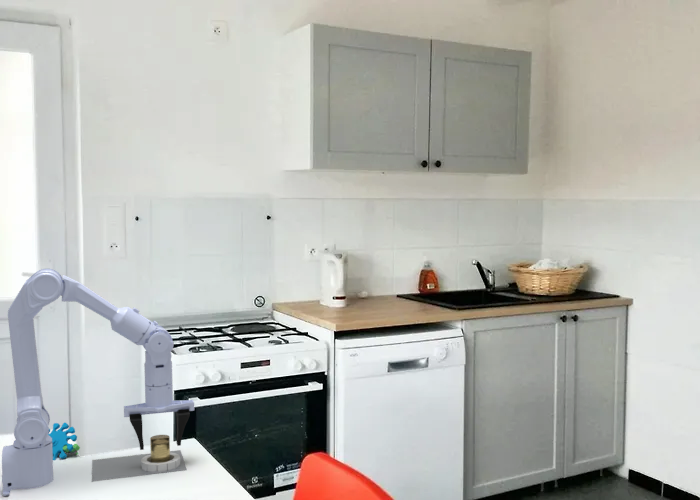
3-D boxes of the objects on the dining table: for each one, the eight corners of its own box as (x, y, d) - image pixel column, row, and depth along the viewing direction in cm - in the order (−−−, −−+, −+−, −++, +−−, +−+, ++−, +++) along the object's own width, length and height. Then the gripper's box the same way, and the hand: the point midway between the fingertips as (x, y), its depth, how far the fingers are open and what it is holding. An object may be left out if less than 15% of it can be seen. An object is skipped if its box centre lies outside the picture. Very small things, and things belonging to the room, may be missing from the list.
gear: (22, 455, 164) (47, 416, 170) (34, 467, 169) (59, 429, 175) (61, 467, 161) (86, 427, 167) (73, 479, 165) (97, 439, 171)
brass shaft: (152, 469, 156) (151, 441, 156) (150, 463, 160) (149, 436, 160) (171, 466, 158) (170, 438, 157) (168, 460, 161) (168, 433, 161)
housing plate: (91, 486, 149) (91, 474, 149) (92, 464, 163) (92, 453, 163) (187, 474, 156) (186, 462, 155) (180, 454, 169) (180, 443, 169)
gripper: (123, 390, 152) (125, 455, 152) (195, 384, 156) (196, 448, 157) (122, 383, 158) (124, 445, 159) (191, 377, 163) (193, 438, 164)
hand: (160, 446), depth 158 cm, fingers open, 7 cm apart
